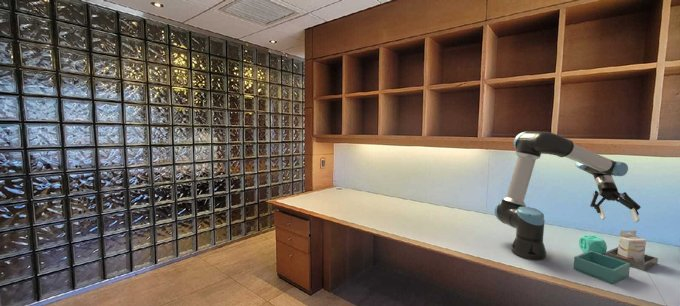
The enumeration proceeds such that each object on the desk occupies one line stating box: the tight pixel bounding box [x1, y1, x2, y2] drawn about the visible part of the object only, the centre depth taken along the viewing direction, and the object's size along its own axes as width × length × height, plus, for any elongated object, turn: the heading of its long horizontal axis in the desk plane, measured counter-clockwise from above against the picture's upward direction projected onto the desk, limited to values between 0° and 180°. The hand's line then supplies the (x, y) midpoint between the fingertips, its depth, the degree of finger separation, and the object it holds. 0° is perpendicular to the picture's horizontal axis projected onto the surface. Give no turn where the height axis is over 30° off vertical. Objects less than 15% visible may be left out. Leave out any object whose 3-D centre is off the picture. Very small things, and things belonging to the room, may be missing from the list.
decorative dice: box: [578, 234, 608, 255], centre depth 144 cm, size 8×8×8 cm
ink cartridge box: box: [617, 229, 647, 263], centre depth 134 cm, size 9×5×15 cm, turn 92°
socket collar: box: [604, 246, 659, 272], centre depth 135 cm, size 14×14×3 cm
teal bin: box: [573, 251, 631, 285], centre depth 125 cm, size 14×14×6 cm
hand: (620, 219), depth 143 cm, fingers open, 13 cm apart
